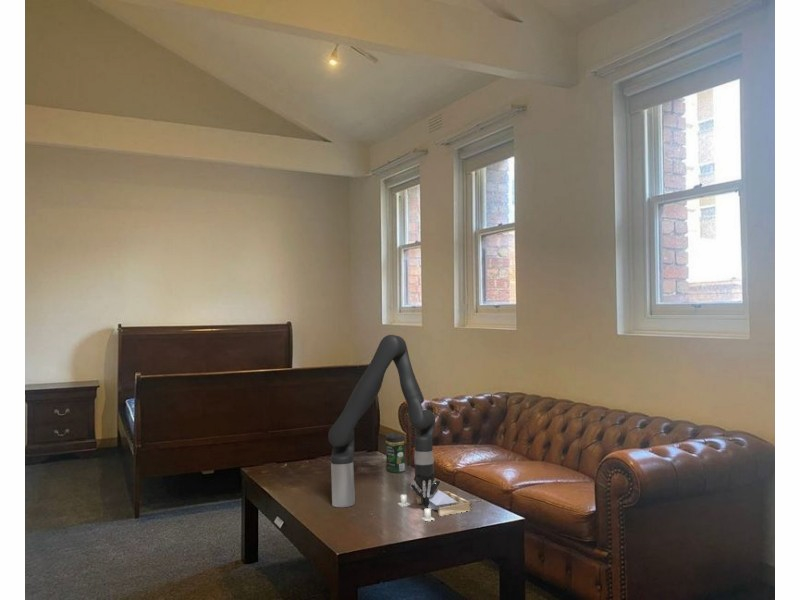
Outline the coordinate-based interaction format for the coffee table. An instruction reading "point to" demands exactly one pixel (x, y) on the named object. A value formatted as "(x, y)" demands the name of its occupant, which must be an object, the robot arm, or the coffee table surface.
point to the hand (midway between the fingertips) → (425, 506)
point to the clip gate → (426, 510)
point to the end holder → (453, 509)
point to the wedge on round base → (439, 500)
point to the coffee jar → (395, 453)
